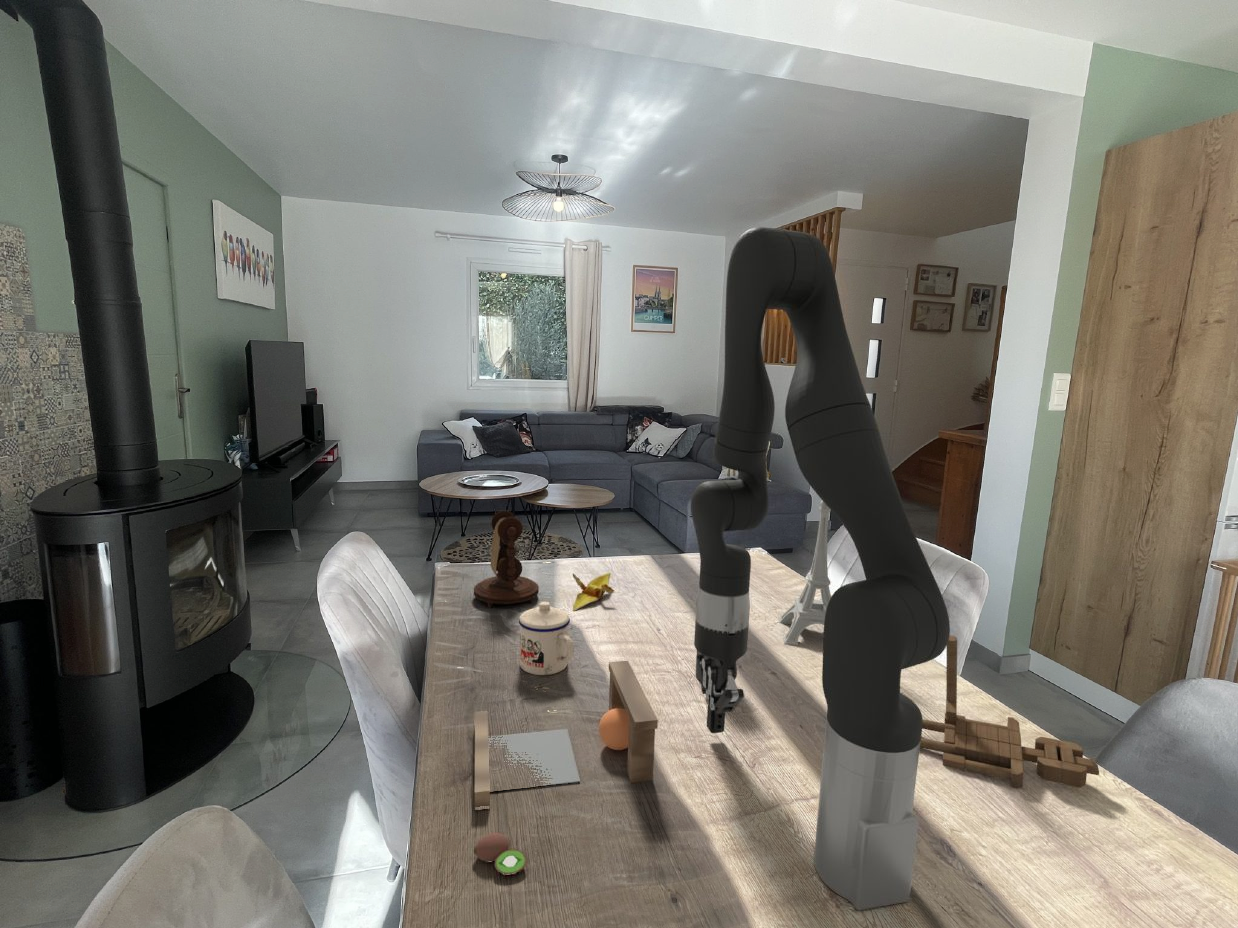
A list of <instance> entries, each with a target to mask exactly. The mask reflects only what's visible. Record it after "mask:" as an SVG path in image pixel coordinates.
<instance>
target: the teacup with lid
mask: <svg viewBox="0 0 1238 928" xmlns="http://www.w3.org/2000/svg"><path fill="white" fill-rule="evenodd" d="M570 623H571V619H570V616H569V614H568V613H567V612H566V611H564V610H563V609H561V608H560V609H559V608H556V607H553V606H551V603H550V602H548V601H541V602H540V603H539V604H538V606H536V607H535V608H531V609H528V610H525V611H524V612H523V613H521V615H520V616H519V618H518V624H519V666H520V669H522V670H523V671H524V672H526V673H528V674H532V675H535V676H548V675H554V674H557V673H560V672H561V671H563V670H564V669H565V668H567V666H568V663H569V662H570V661H571V660H572V659H573V657H574V655H575V644H574V642H573V640H572V639H571V638H570V636H569V625H570Z"/></svg>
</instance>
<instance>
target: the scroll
mask: <svg viewBox="0 0 1238 928" xmlns="http://www.w3.org/2000/svg"><path fill="white" fill-rule="evenodd" d="M490 526H491V528H492V530H493V534H492V540H491V550H490V551H491V553H490V568H491V570H492V572H493V573H494V575H495V576H492V577H487V578H485V579H483V580H482V581H480V582H477V584H475V585H474V587H473V596H474V597H475V598H476V599H477V600H478V601H482V602H484V603H487V607H488V609H491V608H492V607H493V605H494V604H496V605H497V604H498V605H507V604H509V605H511V604H512V605H513V604H518V603H523V602H527V601H529V603H530V604H532V603H534V601H535V597H537V595H538V594H539V591H540V590H539V589H540V587H539V584H538V583H537V582H536V581H534V580H532V579H530V578H528V577H525V576H521V575H522V572H523V564H522V562H521V561H520V560H519V559H518V558H516V555H517V550H516V549H517V548H516V547H515V545H516V541H517V540H518V539H519V538H520V537H521V536H522V533H523V524H522V522H521V521H520V520H519V519H518V518H517V517H515V515H514V514H513V512H511V511H509V510H500V511H498V512H496V513H494V515H493V516H492V518H491V525H490Z"/></svg>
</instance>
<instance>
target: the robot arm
mask: <svg viewBox="0 0 1238 928" xmlns="http://www.w3.org/2000/svg"><path fill="white" fill-rule="evenodd" d="M832 262H833V261H832V259H831V256H830V253H829V251H828V249H827V247H826V246H825V244H824V242H822V241H821V239H820V238H819V237H817V236H815V235H813V234H811V233H808V232H805V231H803V232H802V231H796V230H790V229H783V228H782V229H781V228H774V227H773V228H772V227H763V226H758V227H752V228H750V229H748V230H746V231H744V232H743V234H741V235H740V236H739V238H738V239H737V240H736V242H735V244H734V246H733V248H732V250H731V253H730V257H729V262H728V267H727V273H726V289H725V318H724V322H725V323H724V372H723V373H724V375H723V376H724V377H723V388H722V389H723V390H722V395H721V406H720V411H719V416H718V421H717V427H716V433H715V438H714V442H713V443H714V444H713V452H712V454H713V458H714V460H715V461H716V463H717V464H718V465H720V466H722V467H723V468H726V469H729V470H733V471H736V472H737V479H735V480H732V479H730V480H729V479H727V480H707V481H704V482H702V483H700V484H699V485H698V486H696V488H695V489H694V491H693V493H692V496H691V500H690V514H691V518H692V522H693V526H694V531H695V534H696V535H695V536H696V541H697V545H698V552H699V559H700V566H699V580H698V581H699V582H698V583H699V584H698V585H699V586H698V591H697V597H696V604H695V605H696V606H695V618H694V619H695V622H694V623H695V624H694V643H693V645H694V648H695V650H696V655H695V656H696V657H695V659H696V658H697V664H698V670H699V676H700V680H699V682H700V687H701V693H702V694H703V695H705V703H706V705H707V711H706V712H707V713H706V714H707V716H706V727H707V729H708V731H709V732H710V734H719V733H723V732H724V731H725V723H726V722H725V721H726V713H733V712H734V711H735V710H736V709H737V707H738V706H739V705H740V704H741V702H742V700H744V697H745V693H744V689H743V688H737V684H736V681H735V680H736V679H737V676H738V668H737V661H738V660H740V658H741V657H743V656H744V655H746V653H747V652H748V651H747V650H748V643H749V642H748V639H749V627H750V626H749V625H750V623H749V622H750V614H751V612H750V610H751V603H750V602H751V601H750V586H751V585H750V582H751V571H752V570H751V568H752V567H751V566H752V560H751V559H752V558H751V557H752V556H751V554H750V552H749V551H748V550H747V549H746V548H744V547H742V546H739V545H735V544H730V543H726V542H725V539H724V532H735V531H748V530H749V531H750V530H754V529H756V528H757V527H759V526H760V525H761V524H763V522H764V520H765V519H766V517H767V515H768V512H769V504H770V503H769V502H770V501H769V500H770V499H769V498H770V497H769V489H768V488H769V487H768V478H767V477H768V474H767V473H768V471H767V454H768V449H769V445H770V440H771V435H772V432H773V431H772V430H773V427H774V426H773V425H774V419H775V396H774V390H773V388H772V385H771V381H770V378H769V374H768V371H767V368H766V365H765V361H764V355H763V349H762V334H763V326H764V321H765V316H766V314H767V310H777V311H778V310H779V311H784V313H786V315H787V318H788V319H789V322H790V326H791V328H792V332H793V335H794V336H793V337H794V340H795V344H796V345H795V346H796V362H795V367H794V370H793V374H792V377H791V381H790V384H789V388H788V392H787V395H786V401H785V408H784V415H785V416H784V418H785V422H786V423H785V424H786V427H787V431H788V435H789V438H790V442H791V445H792V448H793V452H794V456H795V459H796V462H797V465H798V469H799V471H800V472H801V473H802V475H803V477H804V479H805V480H806V481H807V483H808V484H809V487H810V488H811V489H812V490H813V491H814V492H815V494H816V495H817V496H818V497H819V498H820V500H823V502H824V503H825V504H826V505H827V506H828V507H829V508H830V510H831V511H830V512H832V514H834V515H835V516H836V518H837V519H838V521H839V522H841V524H842V525H843V526H844V528H845V530H846V532H848V534H849V536H850V538H851V540H852V541H853V544H854V547H855V548H856V551H857V554H858V557H859V559H860V563H861V567H862V569H863V573H864V577H865V579H864V580H857V581H854V582H850V583H846V584H844V585H842V586H840V587H838V589H836V590H835V591H834V592H833V593H832V595H831V599H830V601H829V603H828V606H827V609H826V614H825V621H824V625H823V637H822V638H823V640H822V643H823V644H822V670H821V671H822V673H821V674H822V677H821V683H822V690H823V695H824V698H825V702H826V706H827V712H826V719H825V720H826V721H825V731H824V743H823V752H822V753H823V755H822V763H821V775H820V784H819V785H820V786H819V797H818V806H817V807H818V808H817V818H816V833H815V842H814V854H813V855H814V856H813V863H814V868H815V870H816V872H817V875H818V876H819V878H820V879H821V881H822V882H823V883H824V884H825V885H827V887H828V888H829V889H831V890H832V891H833V892H834V893H836V894H837V895H838V896H841V898H844V899H846V900H847V901H849V902H850V903H851V904H852V906H853V907H854V908H855V909H856V910H857V911H863V910H868V909H869V910H870V909H875V908H880V907H884V906H889V905H892V906H893V905H896V904H901V903H907V902H910V897H911V887H912V879H913V870H914V863H915V854H916V848H917V847H916V846H917V837H918V836H917V835H918V829H919V819H918V818H917V816H915V814H914V813H913V806H914V801H915V800H914V799H915V792H916V784H917V783H916V782H917V775H918V774H917V773H918V765H919V760H920V759H919V757H920V749H921V748H920V742H921V738H922V734H923V729H922V726H923V714H922V712H921V710H920V708H919V706H918V705H917V704H916V703H915V702H914V701H913V700H912V699H911V698H910V697H908V696H906V695H905V694H903V693H902V692H901V678H902V677H901V676H902V670H904V669H909V668H912V667H915V666H917V665H922V664H924V663H927V662H930V661H932V660H935V659H936V658H937V657H939V656H940V655H942V653H943V652H944V651H945V650H946V649H947V643H948V640H949V636H951V634H950V633H951V627H950V626H951V624H950V616H949V614H948V608H947V605H946V603H945V599H944V596H943V594H942V592H941V589H940V587H939V585H938V582H937V581H936V578H935V577H934V573H933V572H932V570H931V568H930V566H929V564H928V563H929V562H928V560H927V558H926V557H925V554H924V551H923V550H922V548H921V545H920V543H919V541H918V538H917V536H916V534H915V532H914V530H913V527H912V525H911V523H910V519H909V517H908V515H907V512H906V509H905V507H904V503H903V500H902V498H901V494H900V492H899V489H898V486H897V483H896V481H895V478H894V474H893V472H892V468H891V467H890V463H889V461H888V457H887V454H886V452H885V447H884V445H883V440H882V437H881V433H880V430H879V427H878V424H877V421H876V417H875V414H874V411H873V408H872V406H871V403H870V401H869V398H868V396H867V393H866V390H865V388H864V384H863V382H862V378H861V376H860V371H859V369H858V365H857V362H856V359H855V355H854V352H853V351H854V350H853V349H852V344H851V341H850V339H849V338H850V337H849V334H848V332H847V327H846V323H845V319H844V314H843V310H842V304H841V299H840V294H839V289H838V285H837V280H836V275H835V270H834V267H833V263H832ZM697 651H698V652H699V653H697Z"/></svg>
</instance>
